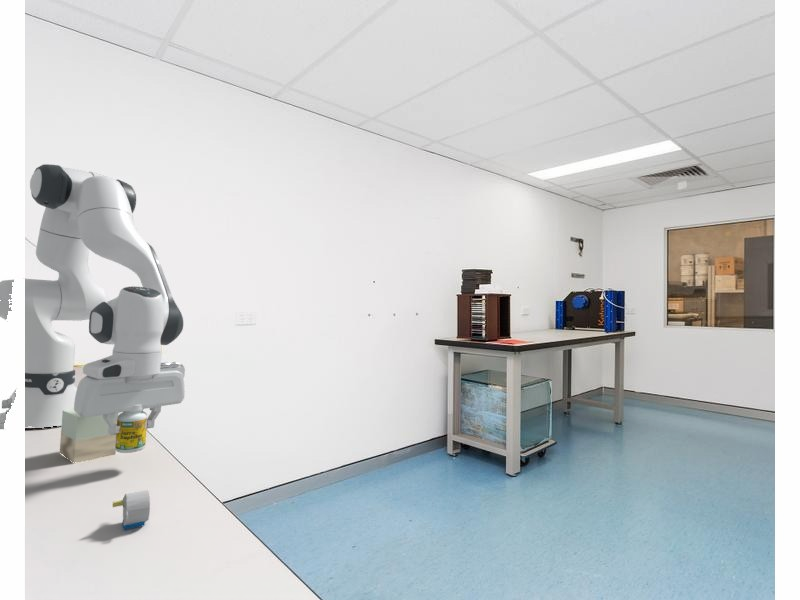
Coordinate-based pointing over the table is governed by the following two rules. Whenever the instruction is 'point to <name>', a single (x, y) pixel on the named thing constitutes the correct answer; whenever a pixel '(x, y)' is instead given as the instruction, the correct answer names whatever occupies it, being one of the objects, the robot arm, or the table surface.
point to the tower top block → (83, 425)
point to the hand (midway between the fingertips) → (131, 430)
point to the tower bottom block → (87, 447)
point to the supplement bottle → (131, 430)
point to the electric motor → (134, 509)
